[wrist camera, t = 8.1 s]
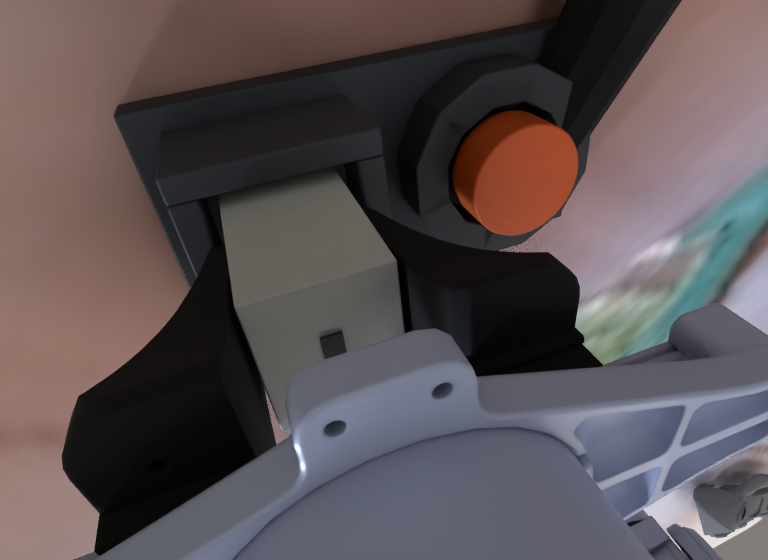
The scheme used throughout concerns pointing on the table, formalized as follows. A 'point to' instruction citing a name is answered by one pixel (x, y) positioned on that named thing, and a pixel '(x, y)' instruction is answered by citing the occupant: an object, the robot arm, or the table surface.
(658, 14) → the microphone
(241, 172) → the socket
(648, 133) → the table surface
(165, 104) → the adapter
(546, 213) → the power button
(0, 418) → the table surface
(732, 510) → the alien figure
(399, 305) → the block
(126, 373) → the robot arm
